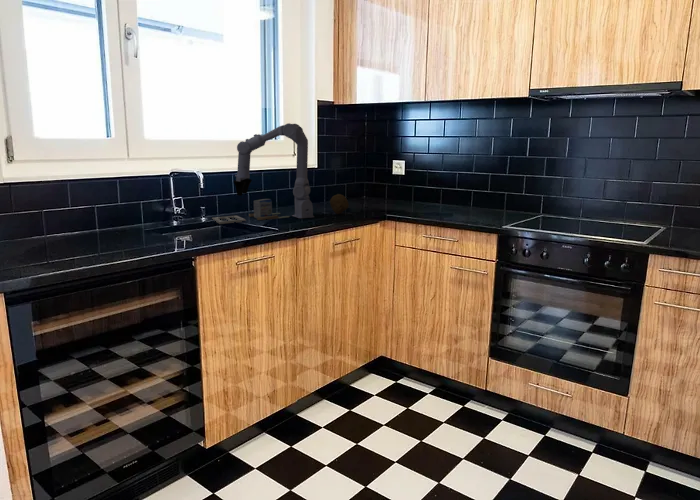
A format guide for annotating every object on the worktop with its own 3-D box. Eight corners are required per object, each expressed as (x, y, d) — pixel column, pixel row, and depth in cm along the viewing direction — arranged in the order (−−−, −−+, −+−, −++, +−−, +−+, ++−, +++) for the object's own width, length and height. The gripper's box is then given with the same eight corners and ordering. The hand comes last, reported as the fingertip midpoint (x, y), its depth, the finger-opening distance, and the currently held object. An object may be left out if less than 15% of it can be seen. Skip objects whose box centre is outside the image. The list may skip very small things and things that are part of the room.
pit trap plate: (245, 221, 229) (245, 219, 229) (220, 224, 223) (219, 221, 223) (236, 217, 240) (236, 215, 239) (212, 219, 234) (211, 217, 234)
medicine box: (260, 219, 235) (259, 200, 233) (254, 218, 238) (253, 200, 236) (272, 216, 241) (271, 199, 239) (266, 215, 244) (265, 198, 242)
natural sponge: (345, 212, 254) (345, 192, 251) (351, 215, 245) (350, 194, 243) (328, 213, 251) (328, 193, 249) (333, 216, 243) (333, 195, 240)
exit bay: (289, 217, 240) (289, 216, 239) (279, 218, 237) (279, 217, 237) (279, 213, 250) (279, 212, 250) (269, 214, 248) (269, 213, 248)
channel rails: (278, 218, 237) (278, 215, 236) (258, 220, 232) (258, 217, 231) (268, 214, 248) (268, 212, 247) (248, 216, 243) (248, 213, 242)
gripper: (240, 164, 249) (239, 191, 252) (230, 166, 235) (229, 195, 238) (254, 166, 248) (252, 193, 251) (245, 168, 234) (243, 197, 237)
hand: (242, 194), depth 245 cm, fingers open, 7 cm apart
